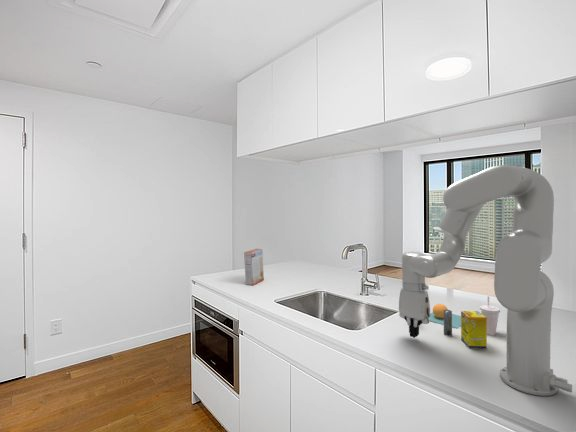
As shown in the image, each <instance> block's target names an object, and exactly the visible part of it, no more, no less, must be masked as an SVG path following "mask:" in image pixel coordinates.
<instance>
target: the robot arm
mask: <svg viewBox="0 0 576 432" xmlns="http://www.w3.org/2000/svg"><path fill="white" fill-rule="evenodd" d="M442 197H443V198H442V201H443V204H444V206H445V207H446V208H447V209H446V210H445V212H444V214H443V216H442V218H441V220H440V222H439V228H440V230H441V231H442V232H443V240H442V243H441V245H440V247H439V249H438V251H437V252H435V253H432V254H426V255H424V254H423V253H422V252H419V251H406V252H403V253H402V256H401V266H402V267H401V271H402V272H401V273H402V274H401V275H402V277H401V279H402V282H401V283H402V287H401V288H400V292H399V298H398V313H399V317H400V318H402V319H404V320H405V322H406V323H407V325H408V333H409V337H411V338H413V339H414V338H417V337H418V336H419V335H420V326H421V325H428V324H429V323H430V321H429V319H428V318H429V317H430V314H431V303H430V298H429V297H430V296H429V293H428V290H429V285H426V282H425V281H426V279H425V278H430V279H433V278H434V279H435V278H437V277H441V276H443V275H446V274H449V273H451V272H452V271H453V270H454V269H455V268H456V266H457V264H458V262H459V261H460V259H461V257H462V256H463V253H464V252H465V248H466V244H467V243H466V242H467V235H468V234H469V233H470V230H471V228H472V226H473V225H474V222H476V218H477V217H478V216H479V215H480V212H481V211H482V209H483V207H484V205H485V204H486V203H489V202H492V201H494V200H497V199H498V200H499V199H502V198H511V197H512V198H514V201H515V204H514V208H513V213H512V226H511V227H512V228H511V229H512V230H511V232H510V233H508V234H506V235H505V236H503V237H502V238H501V239H500V241H499V242H498V244H497V246H496V250H495V259H494V276H493V278H494V280H493V283H494V284H493V289H494V290H493V291H494V295H495V298H496V300H497V301H498V302H499V304H500V305H501V306H502V307H504V308H506V311H507V312H506V366H504V367H502V368H500V370H499V377H500V378H501V380H502V381H503V382H504V383H505V384H506V385H508V386H510V387H511V388H513V389H515V390H518V391H519V392H523V393H526V394H530V395H535V396H538V397H539V396H540V397H541V396H543V397H546V396H547V397H548V396H553V395H555V394H557V393H558V390H559V389H560V390H562V391H566V392H568V393H573V384H571V383H569V382H568V379H566V378H563V377H559V376H556V375H555V374H554V369H553V368H551V336H552V334H551V332H552V329H551V328H552V312H553V311H552V310H553V305H554V303H553V302H554V296H555V295H554V291H555V290H554V284H553V282H552V280H551V279H550V277H549V275H547V274H546V273H545V272H543V271H542V270H541V266H542V265H541V264H543V263H545V262H547V260H549V258H551V255H552V253H553V235H554V234H553V233H554V210H555V208H554V207H555V196H554V191H553V187H552V185H551V184H550V181H548V179H547V178H545V176H544V175H542V174H540V173H539V172H537V171H535V170H532V169H530V168H528V167H527V168H526V167H523V166H519V165H507V164H506V165H505V164H502V165H500V164H499V165H493V166H491V167H488V168H486V169H484V170H481V171H479V172H477V173H474V174H472V175H469V176H467V177H465V178H463V179H460V180H458V181H456V182H454V183H452V184H450V185H449V186H448V187H447V188H446V189H445V191H444V193H443V196H442Z"/></svg>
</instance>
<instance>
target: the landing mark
mask: <svg viewBox="0 0 576 432" xmlns="http://www.w3.org/2000/svg"><path fill="white" fill-rule="evenodd" d="M428 319H429V322H432V323H436V324H440V325H443V326H444V318H443V319H440V318H437V317H436V316H435V315H434V314H433V311H431V312H430V317H429V318H428ZM452 328H453V329H459V328H461V315H458V314H454V313H452Z"/></svg>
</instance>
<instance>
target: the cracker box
mask: <svg viewBox="0 0 576 432" xmlns="http://www.w3.org/2000/svg"><path fill="white" fill-rule="evenodd" d="M263 254H264V253H263V249H262V248H254V249H251V250H248V251H244V253H243V255H244V272H245V273H244V274H245V275H244V277H245V285H246V286H255V285H257V284H259V283H261V282H262V281H264V280H265V279H264V278H265V277H264V275H265V274H264V256H263Z"/></svg>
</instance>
